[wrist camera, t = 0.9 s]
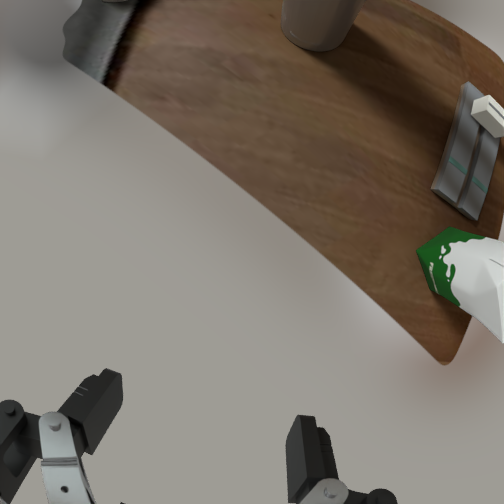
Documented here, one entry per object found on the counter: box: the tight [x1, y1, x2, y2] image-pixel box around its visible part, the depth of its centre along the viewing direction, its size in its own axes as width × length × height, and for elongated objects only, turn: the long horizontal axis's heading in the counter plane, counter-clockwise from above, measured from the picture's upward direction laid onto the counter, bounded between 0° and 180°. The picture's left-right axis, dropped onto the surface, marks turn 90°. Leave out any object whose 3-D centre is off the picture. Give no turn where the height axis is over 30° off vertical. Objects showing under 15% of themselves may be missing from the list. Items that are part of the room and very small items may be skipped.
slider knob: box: [471, 95, 504, 138], centre depth 28 cm, size 3×6×5 cm, turn 65°
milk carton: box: [416, 227, 504, 343], centre depth 26 cm, size 9×9×20 cm
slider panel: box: [431, 82, 500, 220], centre depth 32 cm, size 20×9×2 cm, turn 155°
